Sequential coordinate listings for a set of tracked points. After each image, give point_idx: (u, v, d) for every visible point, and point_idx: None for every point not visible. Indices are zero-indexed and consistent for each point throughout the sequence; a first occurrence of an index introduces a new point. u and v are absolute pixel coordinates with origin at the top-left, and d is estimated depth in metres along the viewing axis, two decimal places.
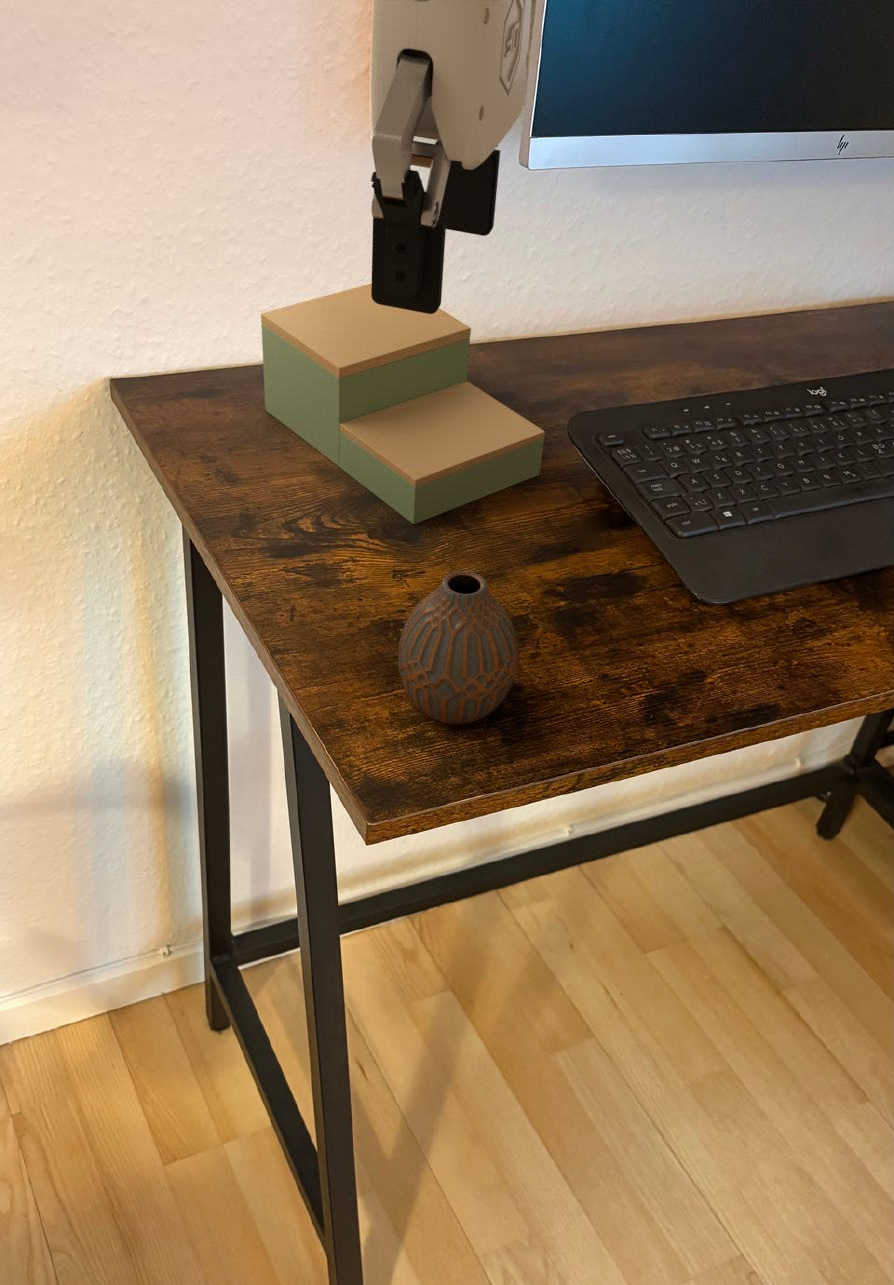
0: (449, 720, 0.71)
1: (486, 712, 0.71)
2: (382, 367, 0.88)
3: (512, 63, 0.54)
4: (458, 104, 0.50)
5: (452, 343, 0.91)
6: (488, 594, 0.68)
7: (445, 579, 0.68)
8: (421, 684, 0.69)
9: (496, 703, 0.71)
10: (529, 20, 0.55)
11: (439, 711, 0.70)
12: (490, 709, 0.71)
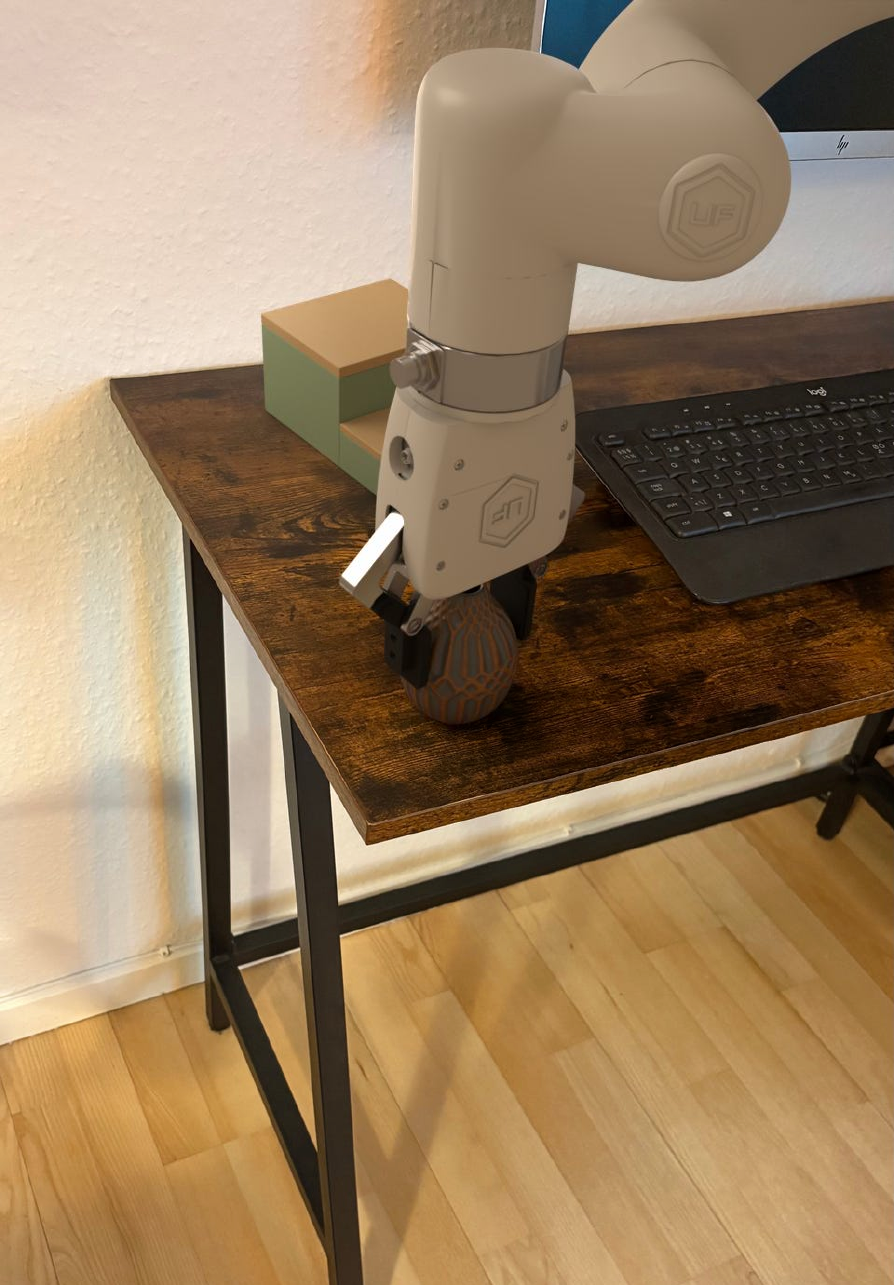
0: (449, 720, 0.71)
1: (486, 712, 0.71)
2: (382, 367, 0.88)
3: (517, 524, 0.63)
4: (417, 556, 0.61)
5: None
6: (488, 594, 0.68)
7: None
8: None
9: (496, 703, 0.71)
10: (565, 488, 0.64)
11: (439, 711, 0.70)
12: (490, 709, 0.71)
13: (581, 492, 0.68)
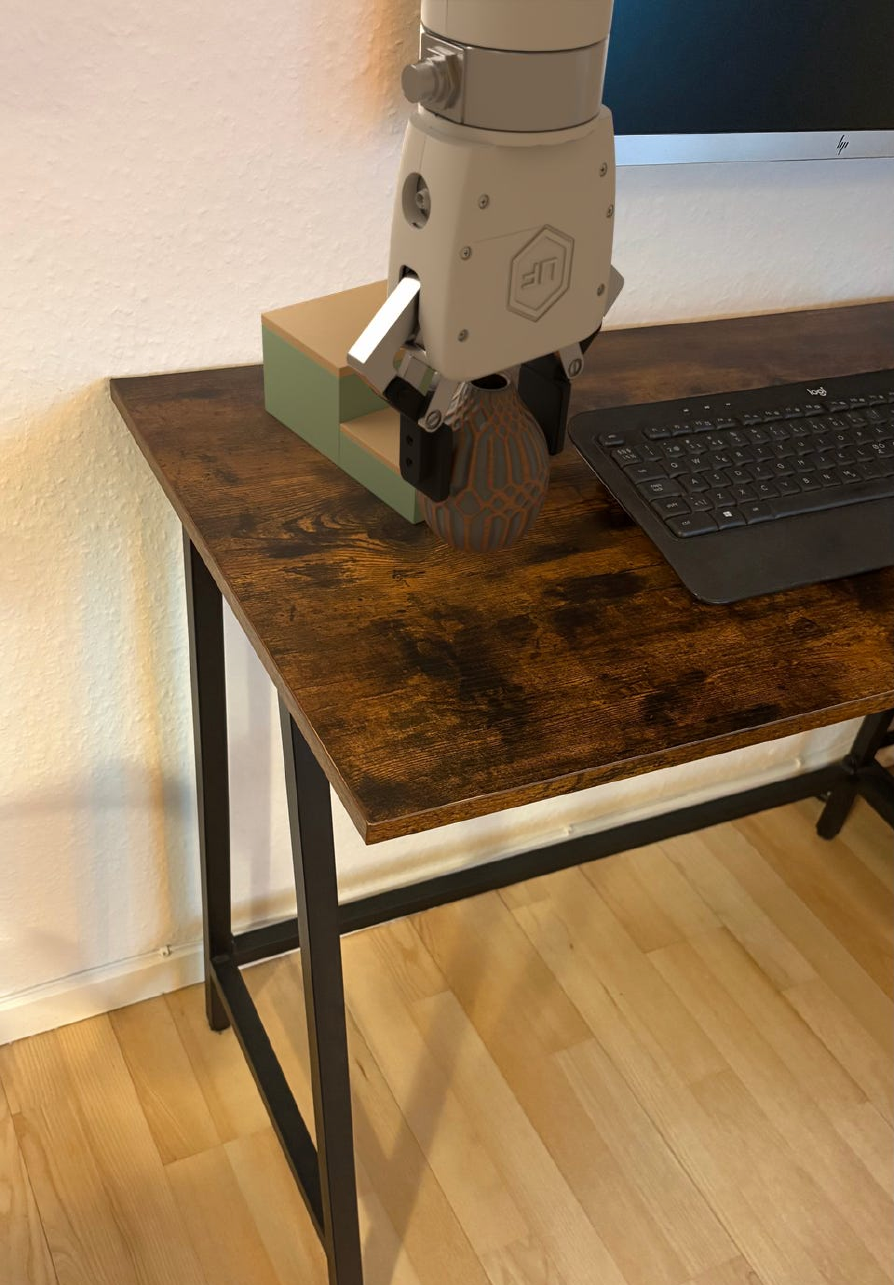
0: (473, 546, 0.63)
1: (515, 536, 0.63)
2: None
3: (550, 293, 0.55)
4: (436, 323, 0.53)
5: None
6: (516, 393, 0.60)
7: None
8: None
9: (526, 525, 0.63)
10: (604, 255, 0.56)
11: (462, 535, 0.62)
12: (519, 532, 0.63)
13: (620, 276, 0.60)
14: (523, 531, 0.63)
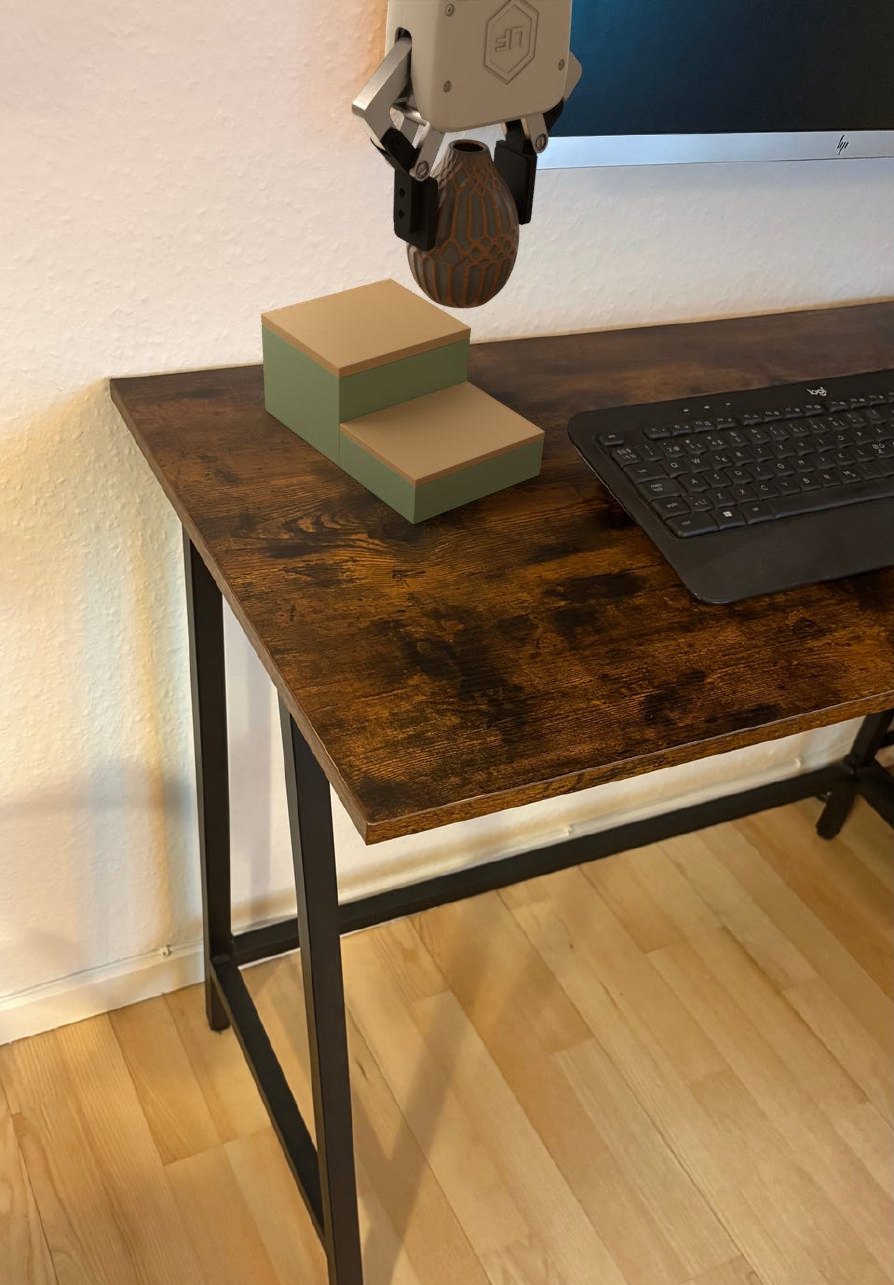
0: (455, 297, 0.75)
1: (490, 289, 0.75)
2: (382, 367, 0.88)
3: (518, 60, 0.67)
4: (425, 75, 0.64)
5: (452, 343, 0.91)
6: (491, 158, 0.71)
7: (450, 143, 0.71)
8: (428, 252, 0.73)
9: (499, 279, 0.74)
10: (563, 32, 0.67)
11: (445, 285, 0.74)
12: (493, 285, 0.74)
13: (578, 65, 0.72)
14: (497, 285, 0.75)
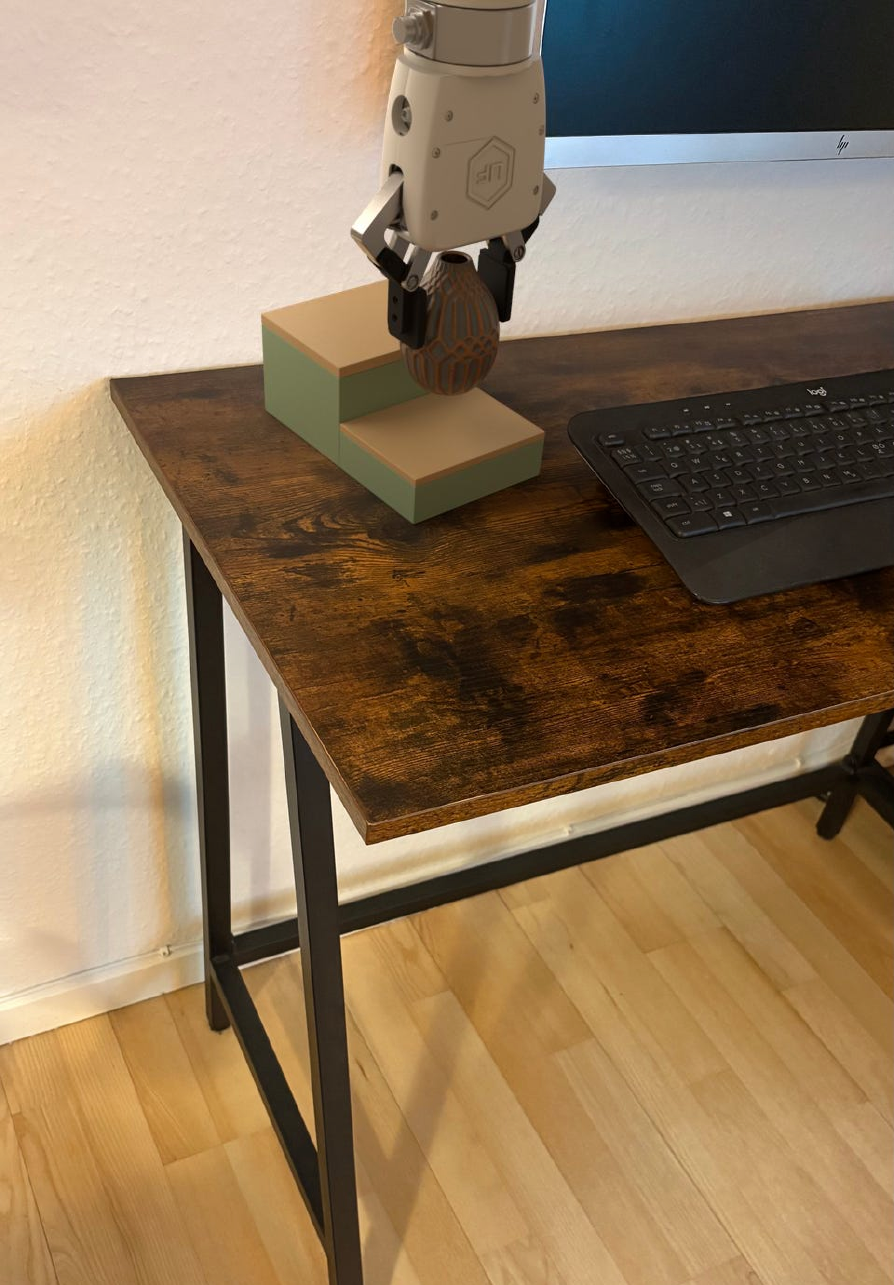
0: (442, 387, 0.84)
1: (473, 380, 0.84)
2: (382, 367, 0.88)
3: (498, 189, 0.76)
4: (415, 206, 0.74)
5: None
6: (474, 268, 0.81)
7: (438, 255, 0.80)
8: (418, 349, 0.82)
9: (481, 372, 0.84)
10: (537, 163, 0.77)
11: (433, 377, 0.83)
12: (476, 377, 0.84)
13: (553, 185, 0.81)
14: (479, 377, 0.84)
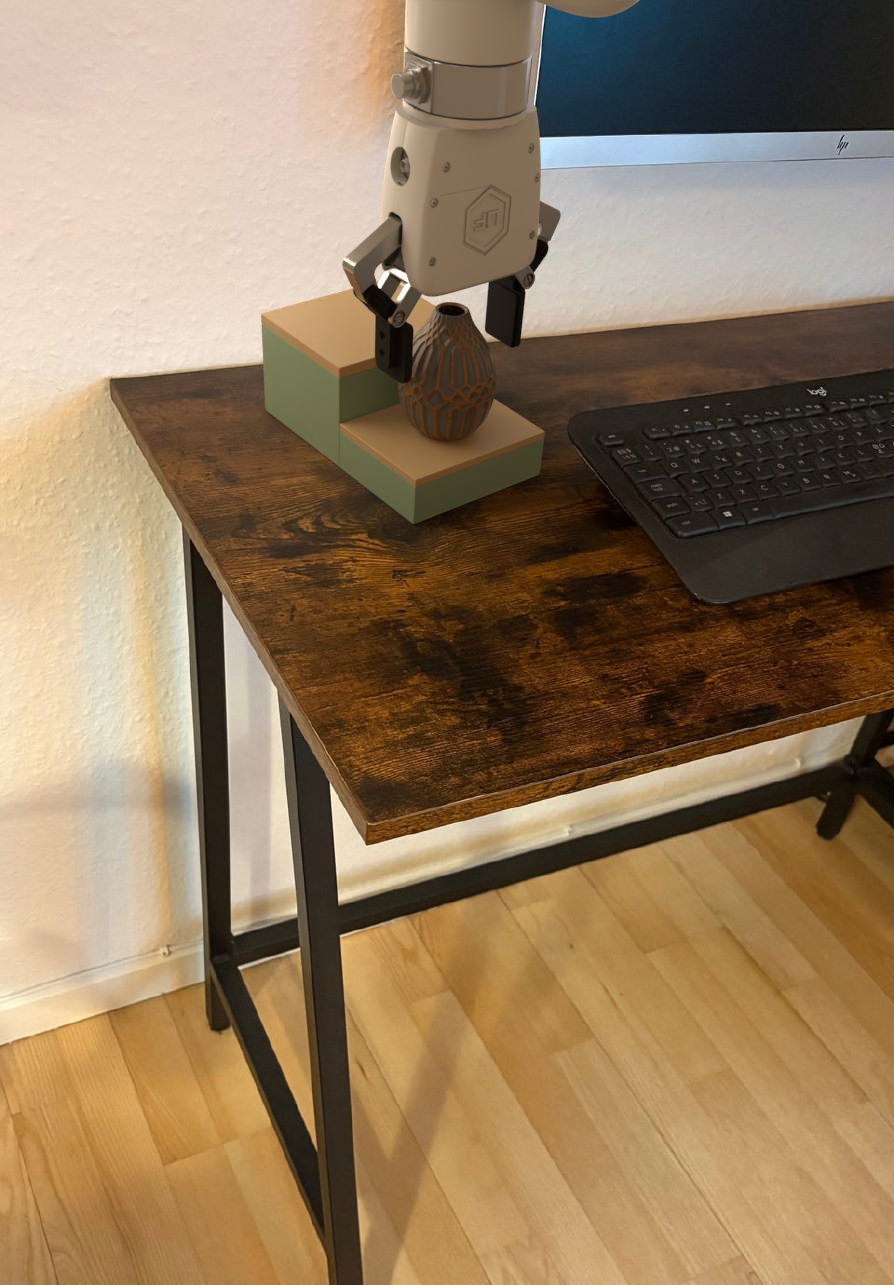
0: (440, 433, 0.86)
1: (470, 426, 0.86)
2: None
3: (494, 235, 0.78)
4: (413, 253, 0.76)
5: None
6: (471, 319, 0.83)
7: (436, 307, 0.83)
8: (417, 397, 0.84)
9: (478, 418, 0.86)
10: (533, 209, 0.79)
11: (431, 424, 0.86)
12: (473, 424, 0.86)
13: (556, 210, 0.83)
14: (476, 423, 0.86)
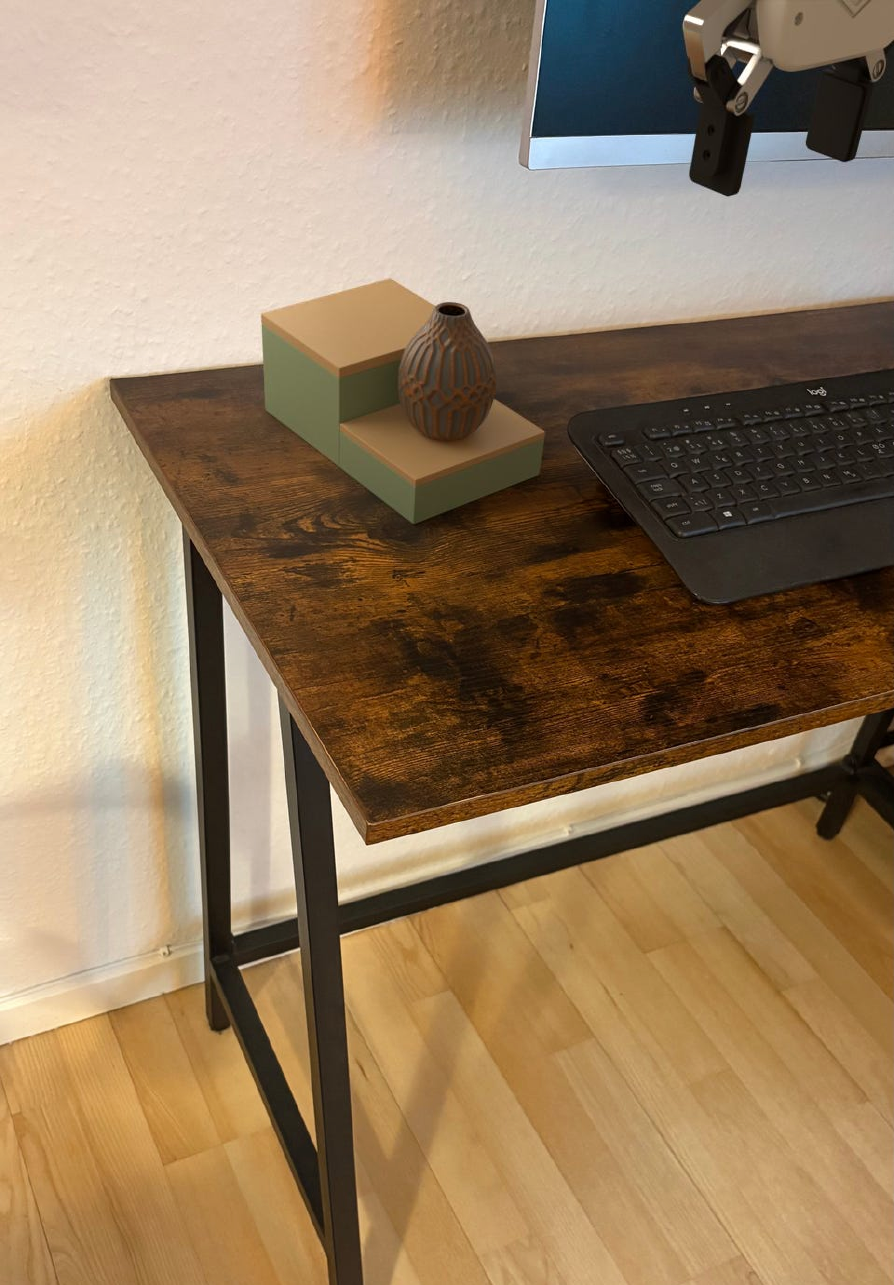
0: (440, 433, 0.86)
1: (470, 426, 0.86)
2: (382, 367, 0.88)
3: None
4: (776, 6, 0.59)
5: None
6: (471, 319, 0.83)
7: (436, 307, 0.83)
8: (417, 397, 0.84)
9: (478, 418, 0.86)
10: None
11: (431, 424, 0.86)
12: (473, 424, 0.86)
13: None
14: (476, 423, 0.86)
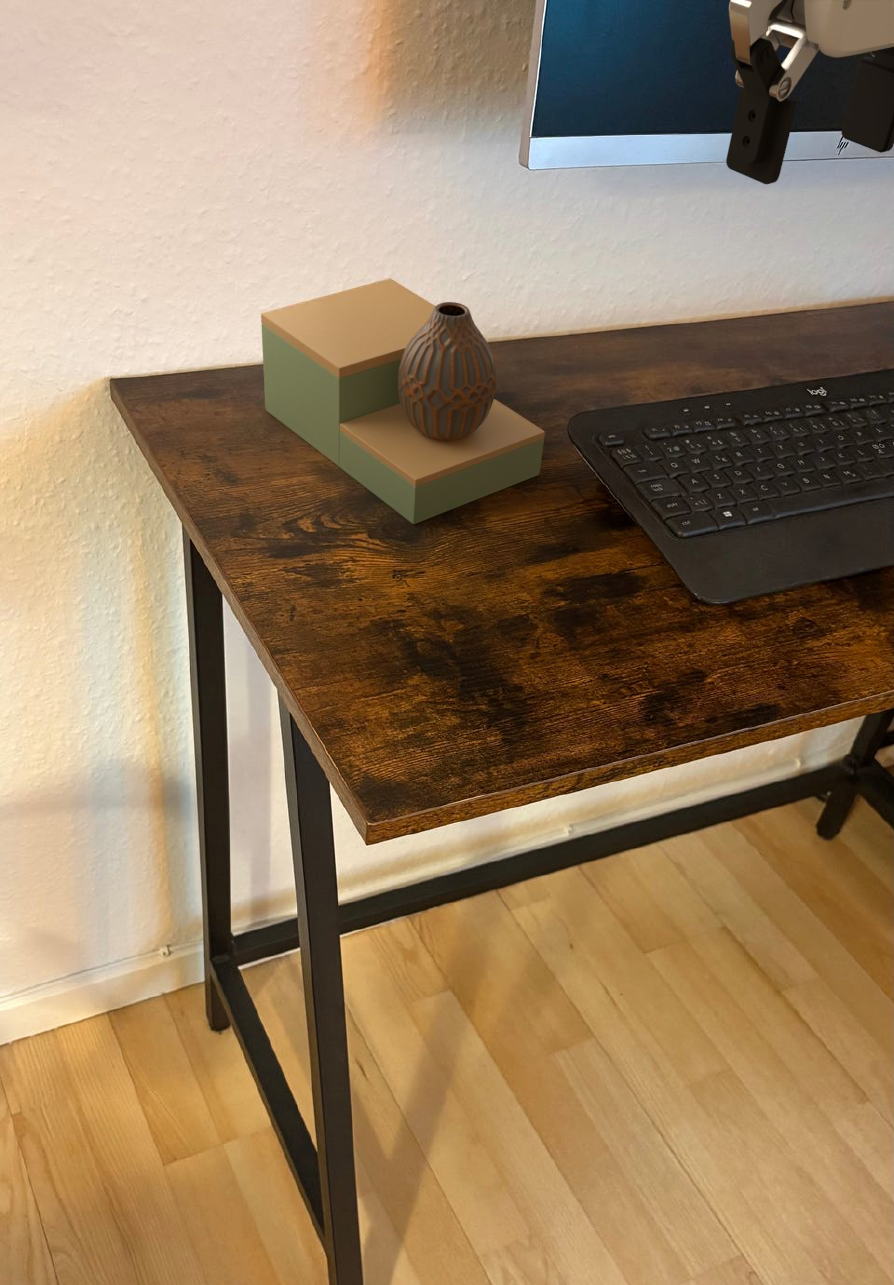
0: (440, 433, 0.86)
1: (470, 426, 0.86)
2: (382, 367, 0.88)
3: None
4: None
5: None
6: (471, 319, 0.83)
7: (436, 307, 0.83)
8: (417, 397, 0.84)
9: (478, 418, 0.86)
10: None
11: (431, 424, 0.86)
12: (473, 424, 0.86)
13: None
14: (476, 423, 0.86)
